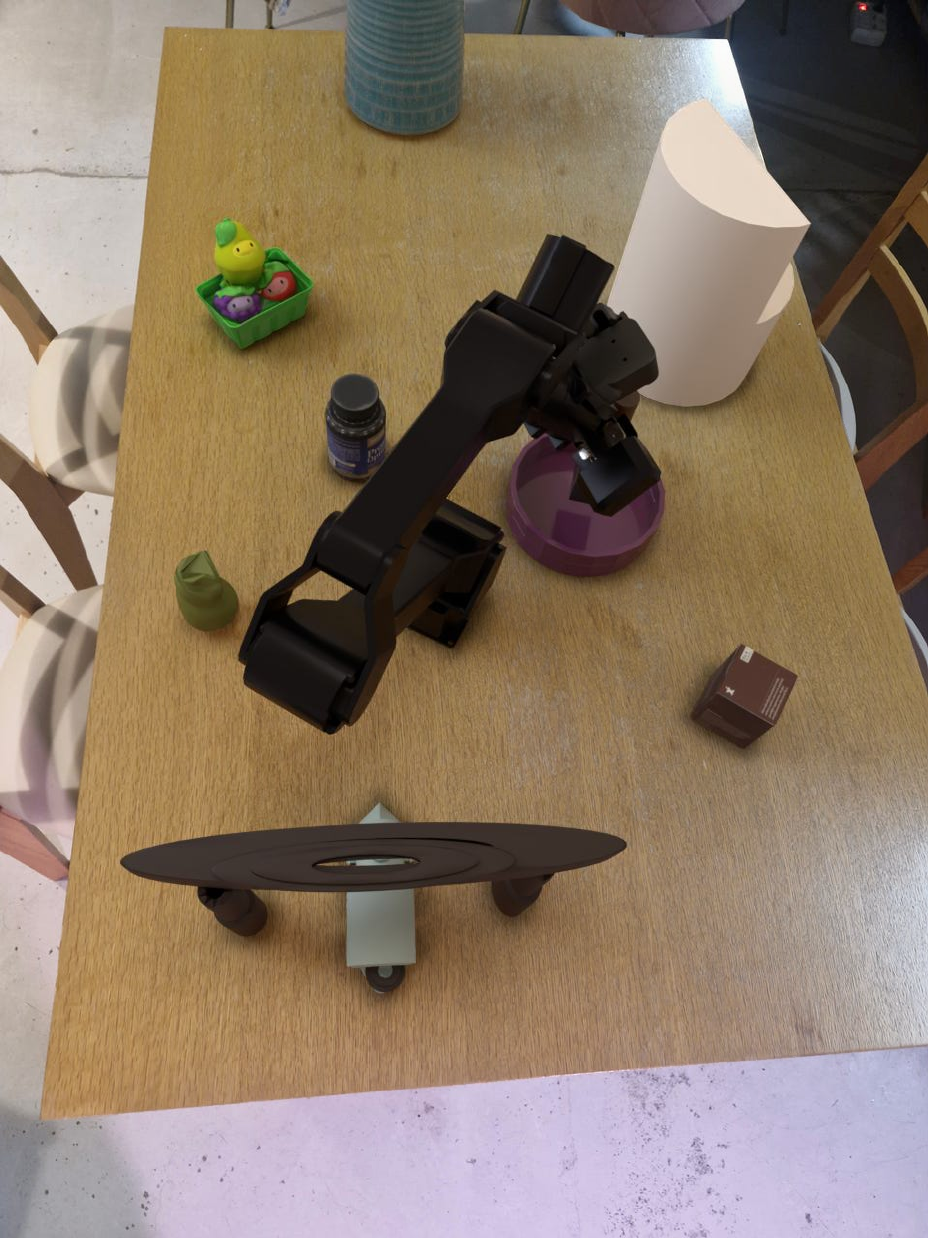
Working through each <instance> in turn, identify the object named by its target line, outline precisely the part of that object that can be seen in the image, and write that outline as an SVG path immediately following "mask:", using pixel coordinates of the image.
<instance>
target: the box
mask: <svg viewBox="0 0 928 1238" xmlns="http://www.w3.org/2000/svg"><path fill="white" fill-rule="evenodd" d="M798 678H799V675H798V674H797V673H794V672H793V671H792V670H790V669H788V668H786V667H785V666H782V665H780V664H778V663H777V662H775V661H773V660H771V659H770V658H768V657H766V656H764V655H762V654H761V653H759V652H757V651H756V650H755V649H752V647H751V648H750V647H749V646H747V645H745V644H743V643H739V644H738V646H737V647H736V648H735V649H734V650H733V651H732V652H731V653H730V654H729V656H728V657H727V658H726V659H725V660H724V661H723V663H721V665H720V666H719V667H717V668H716V670H714V672H712V674H711V676H710V678H709V680H708V682H707V684H706V686H705V688H704V690H703V691H702V693H701V696H700V698H699V699H698V701H697V702H696V705H695V707H694V709H693V711H692V712H691V714H690V719H691V720H692V721H694V722H696V723H698V724H699V725H701V726H702V727H705V728H706V729H708V730H709V731H711V732H713V733H715V734H716V735H718V736H720V737H721V738H724V739H725V740H727V741H728V742H730V743H732V744H733V745H736V746H737V747H739V748H741V749H743V750H746V749H747V748H748V747H749V746H751V745H752V744H753V743H754V742H756V741H757V740H758V739H759V738H761V737H762V736H763V735H764V734H766V733H768V732H769V731H770V730H771V729H773V728H775V726H776V725H777V724H778V721H779V719H780V717H781V716H782V713H783V711H784V708H785V706H786V704H787V703H788V700H789V698H790V696H791V693H792V691H793V689H794V687H795V684H796V682H797V681H798Z"/></svg>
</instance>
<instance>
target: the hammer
mask: <svg viewBox="0 0 928 1238" xmlns="http://www.w3.org/2000/svg"><path fill="white" fill-rule="evenodd" d="M640 400H641V394H639V393H638V391H635V392H633V393H631V394H630V395H628V396H626V397H625V398H623V399H621V400H618V401H615V402H614V403H613V404H614V405H615V407H616V408H617V410H618V411H617V412H616V413H615V414H614V415H612V416H611V417H614V418H615V419H617V418H618V417H620V416H621V415H622V414H623V413H625V414H626V415H627V417H628V419H629V420H630V422H631V423H632V420H633V417H634V416H635V413H636V410H637V408H638V406H639V403H640ZM584 442H585V441H584ZM579 472H580V470H579V468H578V466H577V465H576V463H575V468H574V473H573V479H572V484H571V489H570V495H569V500H572V501H577V502H581V503H586V504H589V503H588V501H587V499H586V497H585V496H584V494H583V492H582V490H581V489H580V487H579V485H578V484H577V482H576V480H577V478H578V475H579Z"/></svg>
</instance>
